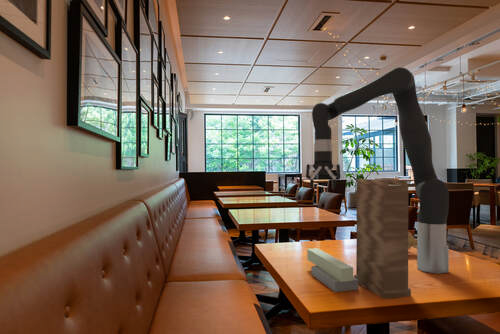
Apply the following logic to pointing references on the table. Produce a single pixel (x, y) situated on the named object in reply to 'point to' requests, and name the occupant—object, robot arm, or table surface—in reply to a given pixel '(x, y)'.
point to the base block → (333, 280)
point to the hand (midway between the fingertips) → (322, 188)
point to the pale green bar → (330, 265)
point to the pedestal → (382, 237)
